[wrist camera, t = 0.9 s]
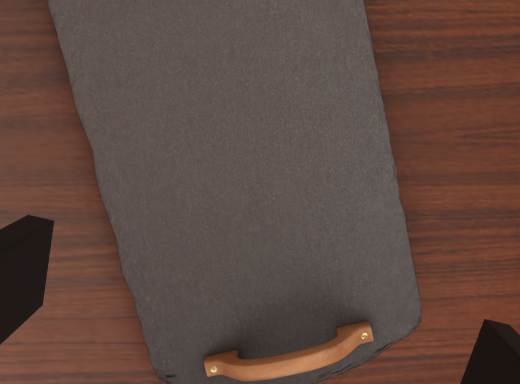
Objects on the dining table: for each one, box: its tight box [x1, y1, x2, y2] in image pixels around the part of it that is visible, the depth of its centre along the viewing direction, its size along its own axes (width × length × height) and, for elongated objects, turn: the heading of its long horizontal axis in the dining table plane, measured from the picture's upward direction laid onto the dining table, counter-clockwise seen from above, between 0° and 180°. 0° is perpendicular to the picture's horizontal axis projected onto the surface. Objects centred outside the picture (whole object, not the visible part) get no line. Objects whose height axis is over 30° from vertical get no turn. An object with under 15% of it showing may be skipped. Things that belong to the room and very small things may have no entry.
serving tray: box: [48, 0, 422, 384], centre depth 35 cm, size 39×23×6 cm, turn 13°
